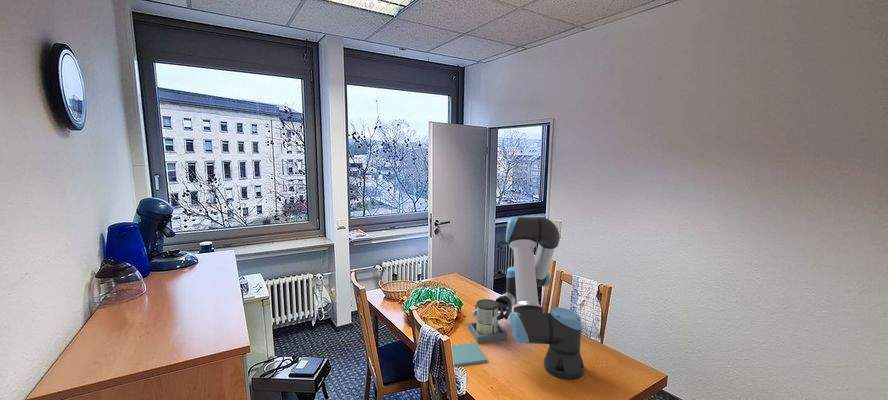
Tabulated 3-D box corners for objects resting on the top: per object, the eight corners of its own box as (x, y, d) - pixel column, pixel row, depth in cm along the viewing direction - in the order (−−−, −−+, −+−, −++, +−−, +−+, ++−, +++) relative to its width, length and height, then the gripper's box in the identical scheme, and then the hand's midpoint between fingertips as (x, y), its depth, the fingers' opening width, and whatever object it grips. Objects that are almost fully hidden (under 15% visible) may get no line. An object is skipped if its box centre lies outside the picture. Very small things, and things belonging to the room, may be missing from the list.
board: (487, 361, 145) (487, 359, 145) (454, 366, 142) (454, 364, 142) (476, 344, 159) (476, 342, 159) (445, 348, 155) (445, 346, 155)
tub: (506, 339, 163) (506, 333, 163) (477, 343, 160) (477, 336, 160) (495, 325, 177) (495, 319, 176) (468, 328, 173) (468, 322, 173)
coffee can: (476, 326, 174) (476, 298, 172) (497, 327, 173) (497, 299, 171) (476, 336, 164) (476, 307, 162) (498, 337, 163) (499, 308, 161)
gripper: (525, 315, 175) (504, 332, 157) (485, 304, 189) (462, 319, 171) (525, 300, 174) (505, 316, 157) (485, 290, 188) (462, 304, 170)
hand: (482, 317), depth 164 cm, fingers closed on coffee can, 10 cm apart
